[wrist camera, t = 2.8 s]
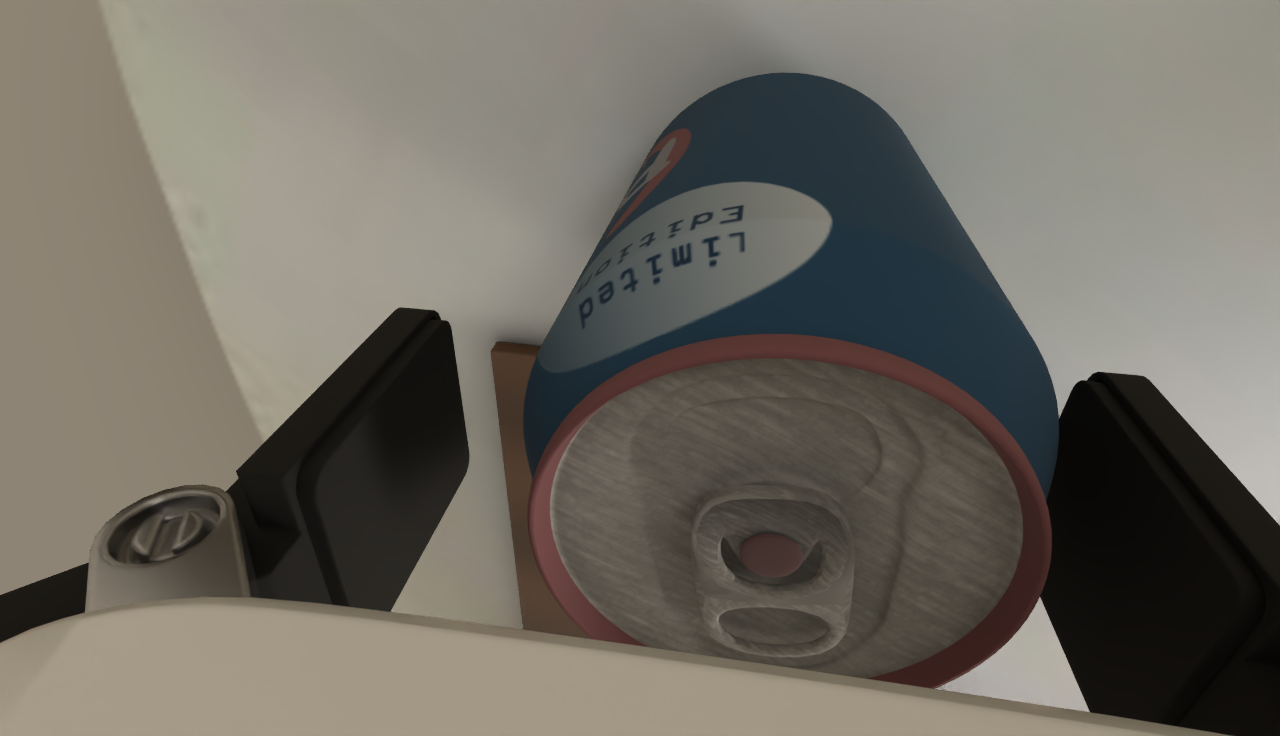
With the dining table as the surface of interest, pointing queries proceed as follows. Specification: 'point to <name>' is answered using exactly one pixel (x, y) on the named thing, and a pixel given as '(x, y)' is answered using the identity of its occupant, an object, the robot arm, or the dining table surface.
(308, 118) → the dining table surface
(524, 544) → the board
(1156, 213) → the dining table surface
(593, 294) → the soda can
